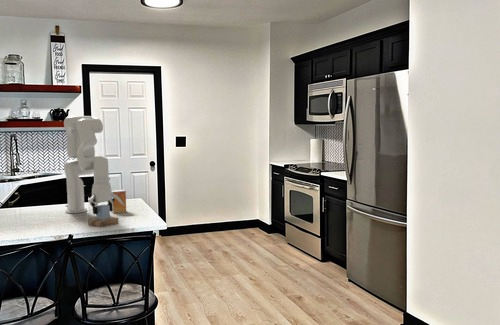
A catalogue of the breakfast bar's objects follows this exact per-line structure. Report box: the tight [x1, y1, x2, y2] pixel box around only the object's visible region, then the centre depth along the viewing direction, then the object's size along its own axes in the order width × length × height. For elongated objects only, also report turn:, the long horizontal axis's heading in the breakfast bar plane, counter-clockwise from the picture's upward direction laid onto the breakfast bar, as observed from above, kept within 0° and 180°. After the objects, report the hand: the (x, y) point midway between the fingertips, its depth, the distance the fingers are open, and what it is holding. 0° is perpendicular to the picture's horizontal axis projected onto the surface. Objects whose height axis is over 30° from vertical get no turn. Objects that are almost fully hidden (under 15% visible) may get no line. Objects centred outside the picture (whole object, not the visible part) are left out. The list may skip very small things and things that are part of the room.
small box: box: [110, 189, 127, 214], centre depth 280 cm, size 8×6×13 cm
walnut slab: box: [87, 216, 119, 228], centre depth 248 cm, size 11×11×3 cm
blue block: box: [95, 204, 111, 220], centre depth 248 cm, size 5×5×7 cm
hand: (102, 212), depth 248 cm, fingers open, 9 cm apart
